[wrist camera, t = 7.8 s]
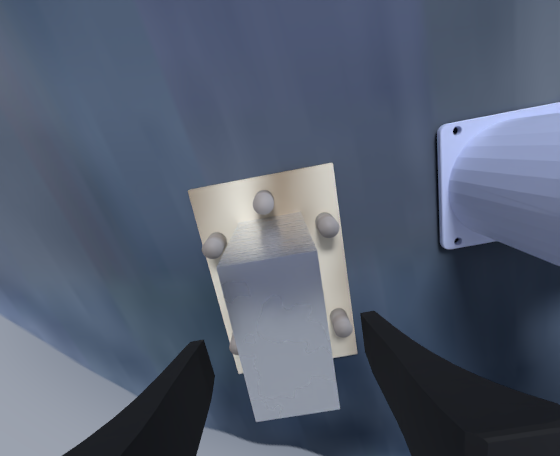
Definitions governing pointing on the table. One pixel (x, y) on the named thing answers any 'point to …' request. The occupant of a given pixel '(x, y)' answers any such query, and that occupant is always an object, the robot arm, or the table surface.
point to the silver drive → (279, 317)
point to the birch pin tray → (273, 202)
